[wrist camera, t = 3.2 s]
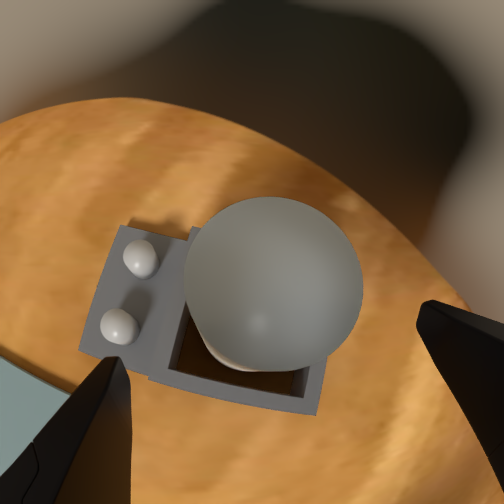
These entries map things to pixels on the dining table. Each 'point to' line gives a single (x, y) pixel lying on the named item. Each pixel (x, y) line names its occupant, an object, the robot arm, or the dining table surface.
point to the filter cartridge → (272, 285)
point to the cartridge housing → (168, 323)
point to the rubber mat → (23, 409)
